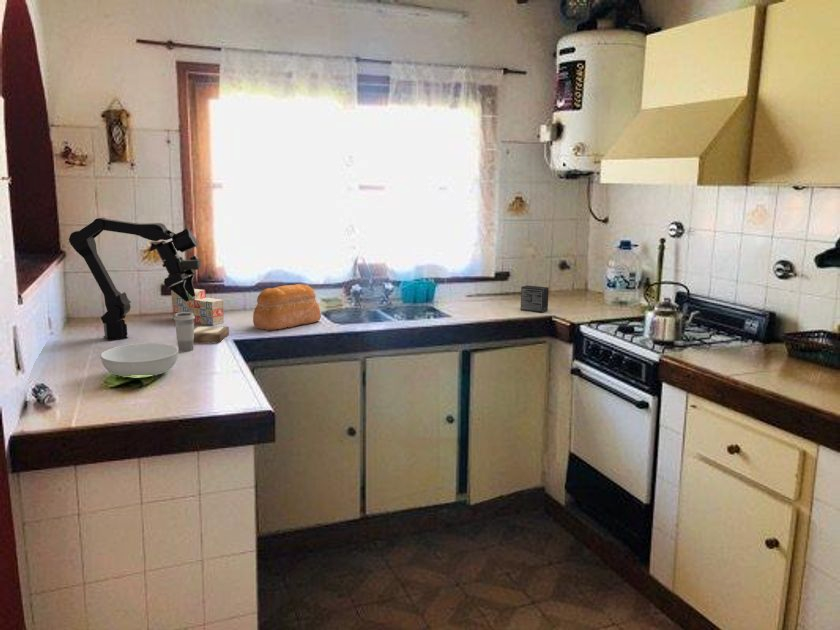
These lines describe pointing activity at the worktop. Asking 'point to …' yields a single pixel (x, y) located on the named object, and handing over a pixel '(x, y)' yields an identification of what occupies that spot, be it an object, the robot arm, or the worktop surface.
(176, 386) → the worktop surface
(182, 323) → the cup
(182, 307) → the stack of blocks
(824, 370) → the worktop surface
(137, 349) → the serving bowl
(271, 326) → the bread
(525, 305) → the small box
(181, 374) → the worktop surface
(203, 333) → the plinth
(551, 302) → the worktop surface
